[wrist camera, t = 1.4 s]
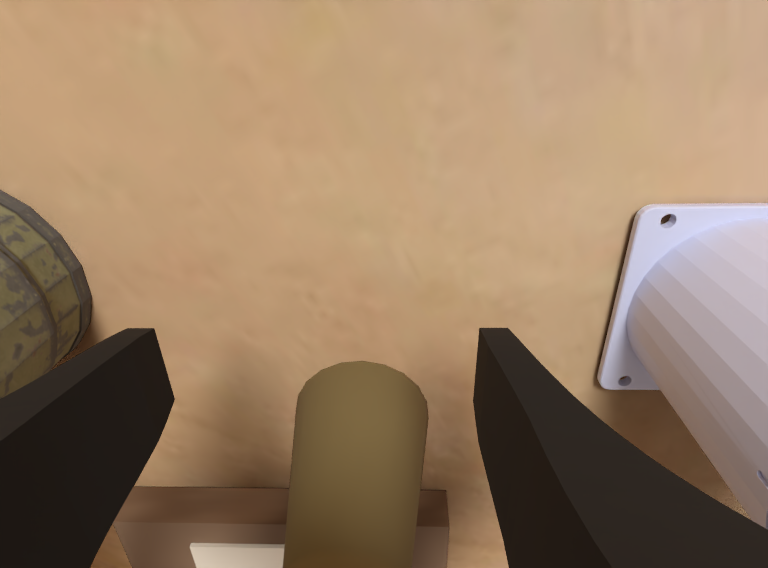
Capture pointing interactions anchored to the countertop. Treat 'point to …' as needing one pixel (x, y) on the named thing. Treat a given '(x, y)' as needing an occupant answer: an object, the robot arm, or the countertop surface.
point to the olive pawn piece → (356, 469)
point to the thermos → (36, 296)
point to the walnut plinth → (240, 528)
